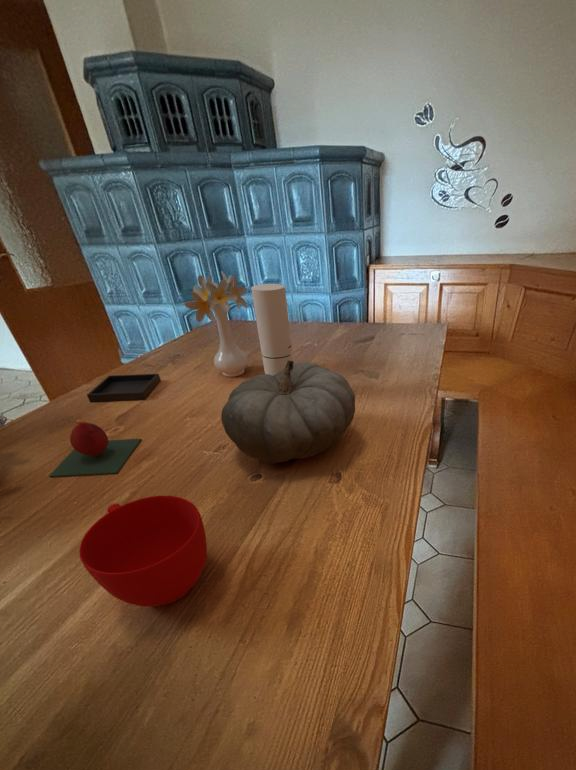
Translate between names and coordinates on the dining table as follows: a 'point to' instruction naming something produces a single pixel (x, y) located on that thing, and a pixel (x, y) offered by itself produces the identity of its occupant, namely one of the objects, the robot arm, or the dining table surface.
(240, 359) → the flower vase
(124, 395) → the tray
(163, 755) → the dining table surface
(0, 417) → the robot arm
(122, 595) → the ceramic cup
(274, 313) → the cylindrical container
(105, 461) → the mat
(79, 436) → the onion
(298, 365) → the gourd
